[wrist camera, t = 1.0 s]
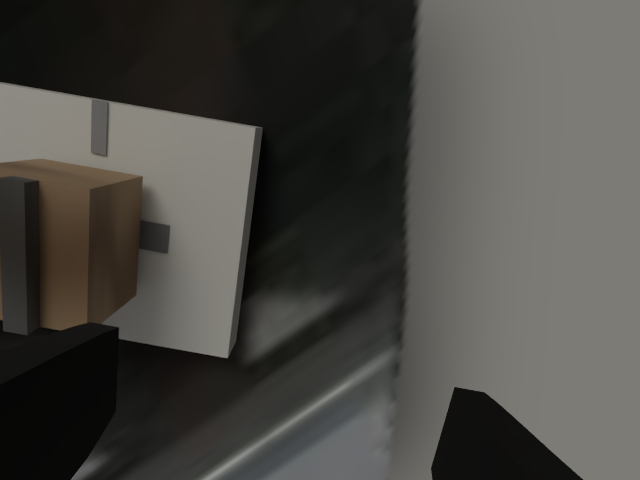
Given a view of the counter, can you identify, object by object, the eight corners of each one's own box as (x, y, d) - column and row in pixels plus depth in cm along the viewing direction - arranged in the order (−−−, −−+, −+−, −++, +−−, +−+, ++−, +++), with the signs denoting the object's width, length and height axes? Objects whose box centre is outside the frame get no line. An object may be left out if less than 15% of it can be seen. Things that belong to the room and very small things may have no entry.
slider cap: (136, 294, 18) (75, 344, 14) (42, 278, 18) (-46, 322, 14) (142, 176, 16) (77, 191, 12) (41, 158, 16) (-57, 168, 12)
